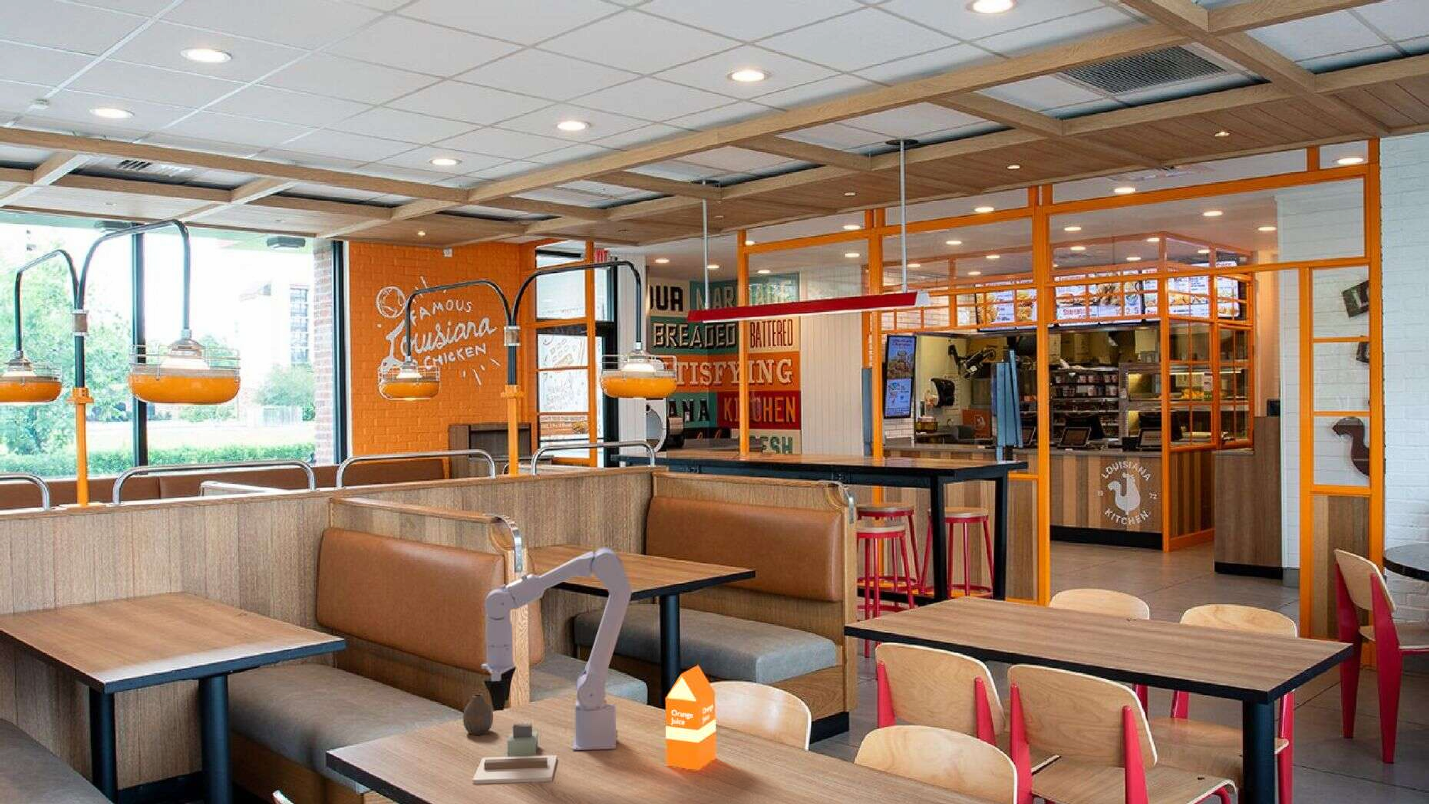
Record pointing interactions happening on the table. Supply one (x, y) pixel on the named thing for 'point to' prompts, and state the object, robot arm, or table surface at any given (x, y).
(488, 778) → the board
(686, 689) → the orange juice
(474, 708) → the vase
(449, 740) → the table surface
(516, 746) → the sage slotted block
